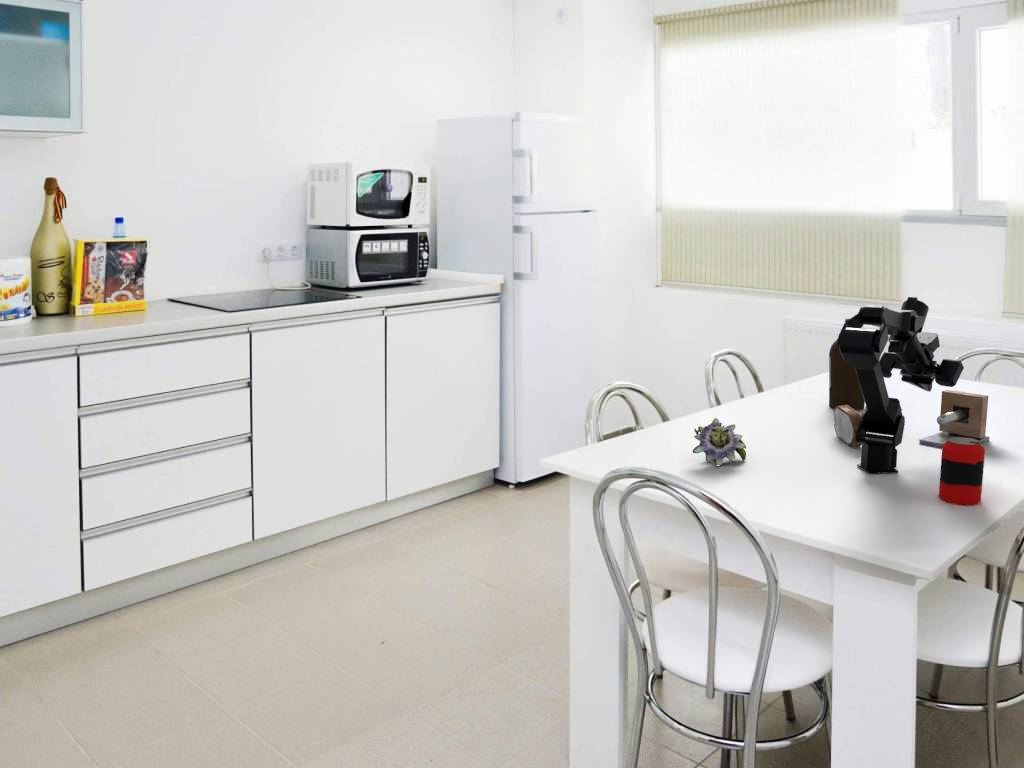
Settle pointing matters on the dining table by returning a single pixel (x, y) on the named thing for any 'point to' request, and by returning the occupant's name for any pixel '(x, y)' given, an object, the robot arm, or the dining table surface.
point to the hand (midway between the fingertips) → (929, 389)
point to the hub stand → (947, 419)
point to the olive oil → (843, 381)
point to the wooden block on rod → (976, 413)
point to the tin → (846, 424)
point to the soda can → (961, 471)
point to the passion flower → (719, 442)
